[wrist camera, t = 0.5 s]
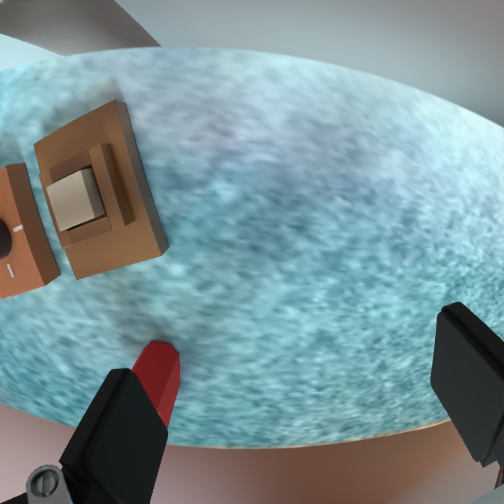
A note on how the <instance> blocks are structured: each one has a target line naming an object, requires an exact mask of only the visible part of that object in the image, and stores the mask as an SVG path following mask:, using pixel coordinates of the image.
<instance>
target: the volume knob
mask: <svg viewBox="0 0 504 504" xmlns="http://www.w3.org/2000/svg"><path fill="white" fill-rule="evenodd" d="M11 246H12V240H11V235H10V232H9V229H8V227H7V225H6V224H5V223H4V222H3V221H2V220H0V260H1V259H3V258H5V257H7V256H8V255H9V253H10V251H11Z"/></svg>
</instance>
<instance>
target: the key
mask: <svg viewBox="0 0 504 504" xmlns="http://www.w3.org/2000/svg"><path fill="white" fill-rule="evenodd" d="M46 189H47V192H48V196H49V199H50V202H51V206H52V209H53V212H54V215H55V218H56V221H57V224H58V227H59V230H60V231H63V230H65V229H67V228H70V227H72V226H75V225H77V224H80V223H82V222H85V221H87V220H90V219H92V218H95V217H97V216H99V215H102V214H104V213H105V210H104V207H103V204H102V201H101V197H100V194H99V191H98V188H97V184H96V181H95V178H94V174H93V171H92V168H90V169H84V170H79V171H77V172H75V173H73V174H71V175H69V176H67V177H65V178H63V179H61V180H59V181H57V182H55V183H53V184H51V185H49V186H47V187H46Z"/></svg>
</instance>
